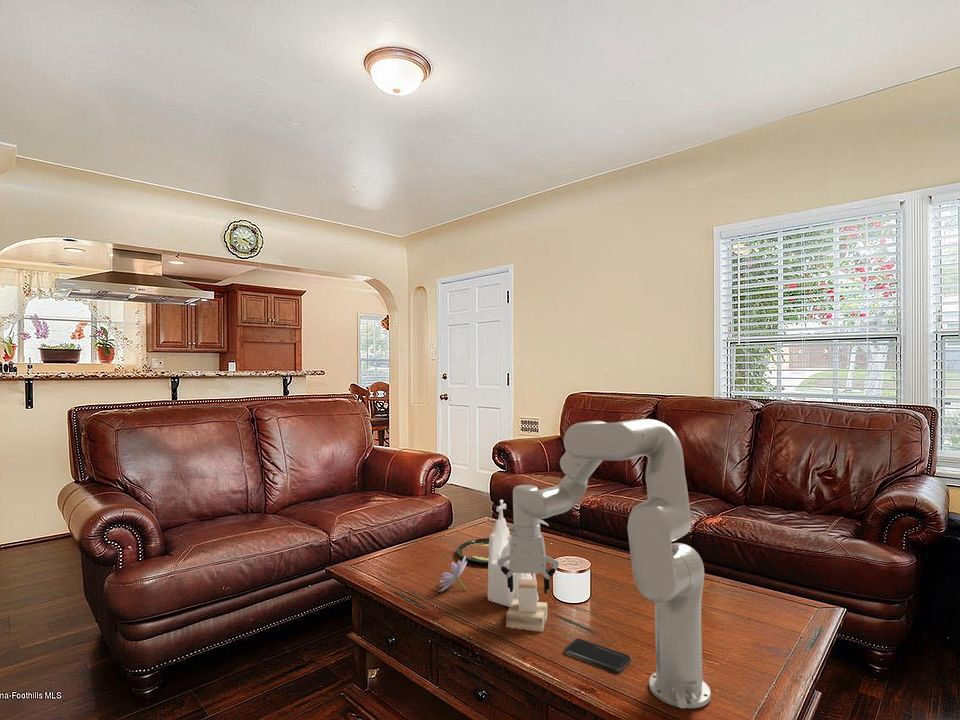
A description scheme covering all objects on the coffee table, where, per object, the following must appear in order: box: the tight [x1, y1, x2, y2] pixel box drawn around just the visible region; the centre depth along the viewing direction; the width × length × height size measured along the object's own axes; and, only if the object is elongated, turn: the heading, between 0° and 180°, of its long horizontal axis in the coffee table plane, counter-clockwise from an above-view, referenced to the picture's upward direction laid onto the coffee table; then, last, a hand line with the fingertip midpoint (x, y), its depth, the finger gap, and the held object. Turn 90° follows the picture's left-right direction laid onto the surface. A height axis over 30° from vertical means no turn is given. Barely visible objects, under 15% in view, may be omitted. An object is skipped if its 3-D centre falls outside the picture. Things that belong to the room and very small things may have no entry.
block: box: [505, 599, 549, 633], centre depth 148 cm, size 10×10×4 cm
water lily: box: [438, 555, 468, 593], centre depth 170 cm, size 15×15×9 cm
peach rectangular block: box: [518, 579, 538, 612], centre depth 148 cm, size 5×5×7 cm
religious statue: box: [487, 499, 550, 608], centre depth 163 cm, size 17×14×30 cm
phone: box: [563, 638, 632, 674], centre depth 129 cm, size 8×1×15 cm
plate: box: [456, 537, 489, 565], centre depth 202 cm, size 28×28×2 cm
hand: (528, 591), depth 148 cm, fingers open, 9 cm apart
